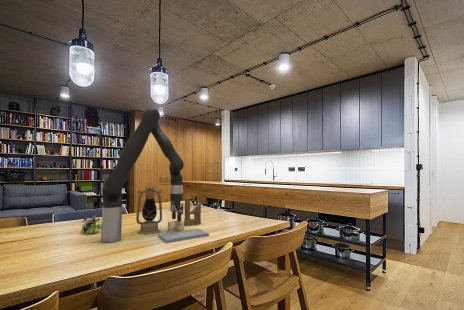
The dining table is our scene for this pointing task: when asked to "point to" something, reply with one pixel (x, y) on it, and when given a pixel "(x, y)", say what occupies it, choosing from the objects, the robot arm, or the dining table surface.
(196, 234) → the slate board
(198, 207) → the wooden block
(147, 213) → the lantern
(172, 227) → the sanding block
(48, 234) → the dining table surface
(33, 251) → the dining table surface
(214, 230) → the dining table surface
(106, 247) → the dining table surface
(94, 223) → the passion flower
